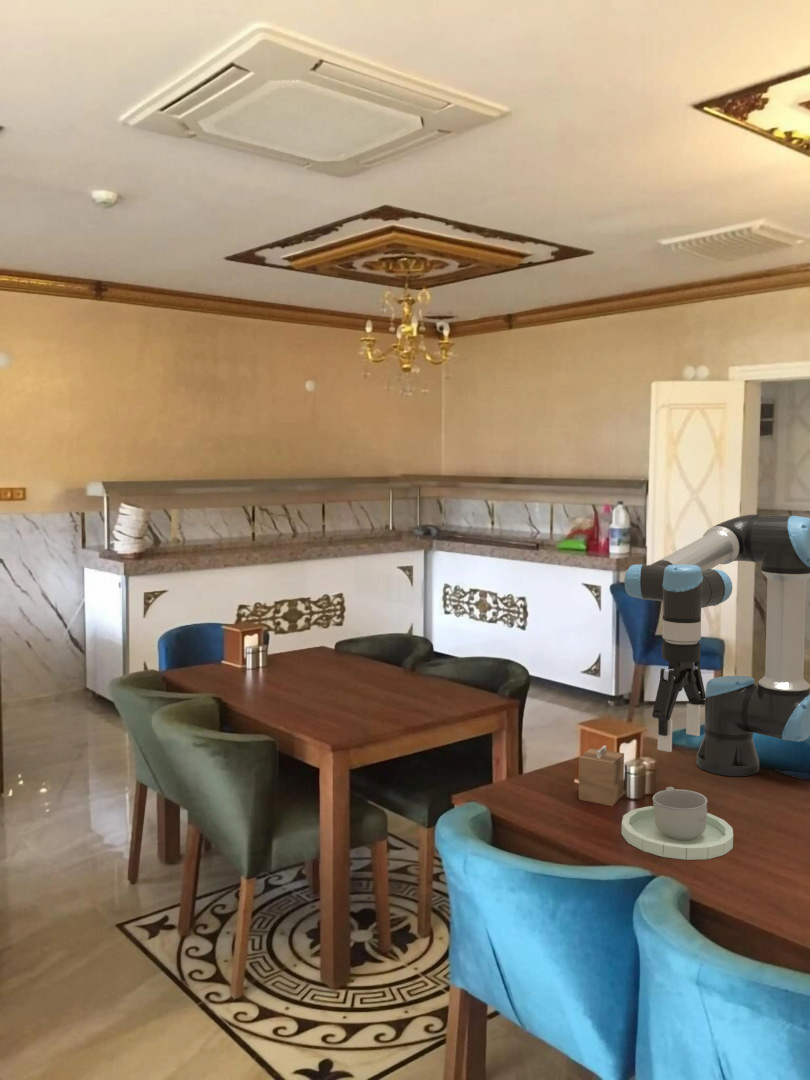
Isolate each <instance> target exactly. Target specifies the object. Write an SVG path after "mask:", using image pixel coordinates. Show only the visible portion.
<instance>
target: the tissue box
mask: <svg viewBox="0 0 810 1080" xmlns="http://www.w3.org/2000/svg"><path fill="white" fill-rule="evenodd" d="M607 749H608V748H607V745H602V747H600V748H595V747H594V748H593V747H590V748H589V749H588V750H587V751H585V752H584V753H582V754H581V755H580V756H579V757H578V800H580V801H584V802H590V803H594V804H600V805H604V806H611V807H614V805H615V804H616V803H617V802H619V800H620V799H621V798H622V797H623V796H624V784H625V783H624V777H625V776H624V775H625V774H624V773H625V753H624V752H617V751H613V750H607Z"/></svg>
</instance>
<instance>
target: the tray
mask: <svg viewBox="0 0 810 1080" xmlns="http://www.w3.org/2000/svg"><path fill="white" fill-rule="evenodd" d="M620 832H621V835H622V837H623V838H624V840H625V841H626V842H627V843H628V844H629V845H631V846H633V847H635V848H636V849H638V850H640V851H642V852H644V853H648V854H650V855H655V856H659V857H662V858H666V859H667V858H669V859H675V860H682V861H690V860H691V861H694V860H695V861H697V860H711V859H713V858H717V857H721V856H724V855H727V854H728V853H729V852H730V851H731V850H732V849H734V829H733V827H732V826H731V825H730V824H729V823H728V822H727V821H726V820H725V819H722V818H720V817H718V816H716V815H714V814H712V813H711V812H710V813H709V812H707V824H706V828H705V830H704V832H703V833H701V834H700V835H698V837H696V838H694V839H692V840H685V841H684V840H675V839H671V838H669V837H667V836H665V835H664V834H663V833H662V832H661V831H660V830H659V829H658V828H657V826H656V824H655V820H654V807H653V805H650V806H643V807H639V808H634V809H631V810H630V811H629V812H626V813H625V814H624V815H622V820H621V831H620Z"/></svg>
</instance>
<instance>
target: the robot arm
mask: <svg viewBox="0 0 810 1080" xmlns="http://www.w3.org/2000/svg"><path fill="white" fill-rule="evenodd" d="M733 562H748V563H749V562H750V563H751V562H753V563H760V572H761V573H762V575H764V576H765V577H766V579H767V582H766V583H767V584H766V585H767V588H766V589H767V590H766V591H767V593H766V622H765V623H766V629H765V631H766V632H765V633H766V634H765V664H764V665H765V667H764V668H765V669H764V670H765V671H764V676H763V677H762V678H760V679H759V680H758V682H757V683H758V684H757V685H756V680H755V678H754V677H752V676H747V675H723V676H718V677H713V678H711V679H709V680H708V681H707V682H706V686H704V682H703V675H702V670H701V643H700V642H699V641H701V639H702V609H703V608H708V607H716V606H718V605H720V604H722V603H724V602H726V601H727V600H728V599H729V598H730V597H731V595H732V593H733V582H732V579H731V578H730V576H729V575H728V573H726V572H725V571H723V570H721V569H718V568H717V569H716V568H715V567H717V566H719V565H728V564H730V563H733ZM809 578H810V517H807V516H800V515H798V516H797V515H771V514H767V515H765V514H745V515H741V516H737V517H733V518H731V519H728V520H725V521H723V522H720V523H718V524H715V525H714V526H712V527H710V528H708V529H707V530H706V531H705V532H704V533H703V535H702V537H700V538H698V539H697V540H695V541H692V542H691V543H689V544H687V545H685V546H684V547H682V548H679V549H678V550H676V551H674V552H672V553H670V554H669V555H666V556H664V557H663V558H661V559H659V560H657V561H656V562H653V563H651V564H642V563H641V564H632V565H630V566H629V567H628V569H626V571H625V575H624V579H623V580H624V589H625V592H626V594H627V595H628V596H630V597H632V598H634V599H635V598H636V599H641V600H643V601H644V600H646V601H647V600H648V601H655V602H656V601H659V602H662V622H661V623H660V626H661V627H662V633H661V634H662V636H661V637H662V639H663V641H662V643H661V657H662V659H663V660H665V661H666V662H668V668H661V669H660V672H659V683H658V687H657V690H656V696H655V700H654V705H653V710H652V713H651V714H652V715H651V716H652V718H654V719H657V746H656V747H657V751H662V752H668V753H671V752H672V751H673V750H672V749H673V719H671V716H672V714H673V711H674V707H675V705H676V702H677V699H678V697H679V693H680V692H682V690H684V694H685V695H686V697H687V700H688V702H687V703H686V716H685V717H686V719H685V720H686V722H685V725H686V726H685V729H686V731H685V735H689V736H695V737H699V736H701V734H700V733H701V705H703V706H704V733H703V734H704V735H703V737H702V740H701V743H700V746H699V747H698V748H699V749H698V751H697V753H696V766H697V767H698V768H699V769H700V770H703V771H705V772H708V773H712V774H713V775H720V776H728V777H747V776H752V775H756V774H758V773H759V771H760V758H759V756H758V753H757V748H756V746H755V743H754V739H753V737H754V736H753V735H754V734H757V735H762V736H767V737H770V738H771V737H772V738H777V739H781V740H782V741H791V742H796V743H797V742H798V743H800V742H801V743H802V742H803V741H806V740H807V739H808V738H809V737H810V683H809V682H808V681H806V680H805V678H804V674H805V673H804V669H805V638H806V637H805V636H806V635H805V634H806V599H807V596H806V595H807V580H808V579H809Z"/></svg>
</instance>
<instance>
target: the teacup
mask: <svg viewBox="0 0 810 1080" xmlns="http://www.w3.org/2000/svg"><path fill="white" fill-rule="evenodd" d="M708 801H709V800H708V798H707V797H706V796H705V795H704V794H702V793H700V792H697V791H693V790H689V789H682V788H681V789H677V788H674V787H673V786H667V787H665V789H664V790H659V791H658V792H656V793H655V794H653V796H652V803H653V805H652V806H653V807H654V820H655V824H656V826H657V828H658V829H659V830H660V831H661V832H662V833H663V834H664V835H665V836H667V837H669V838H671V839H675V840H684V841H685V840H692V839H694V838H696V837H698V835H700V834H701V833H703V832H704V830H705V828H706V824H707V813H708V805H707V804H708Z"/></svg>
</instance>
